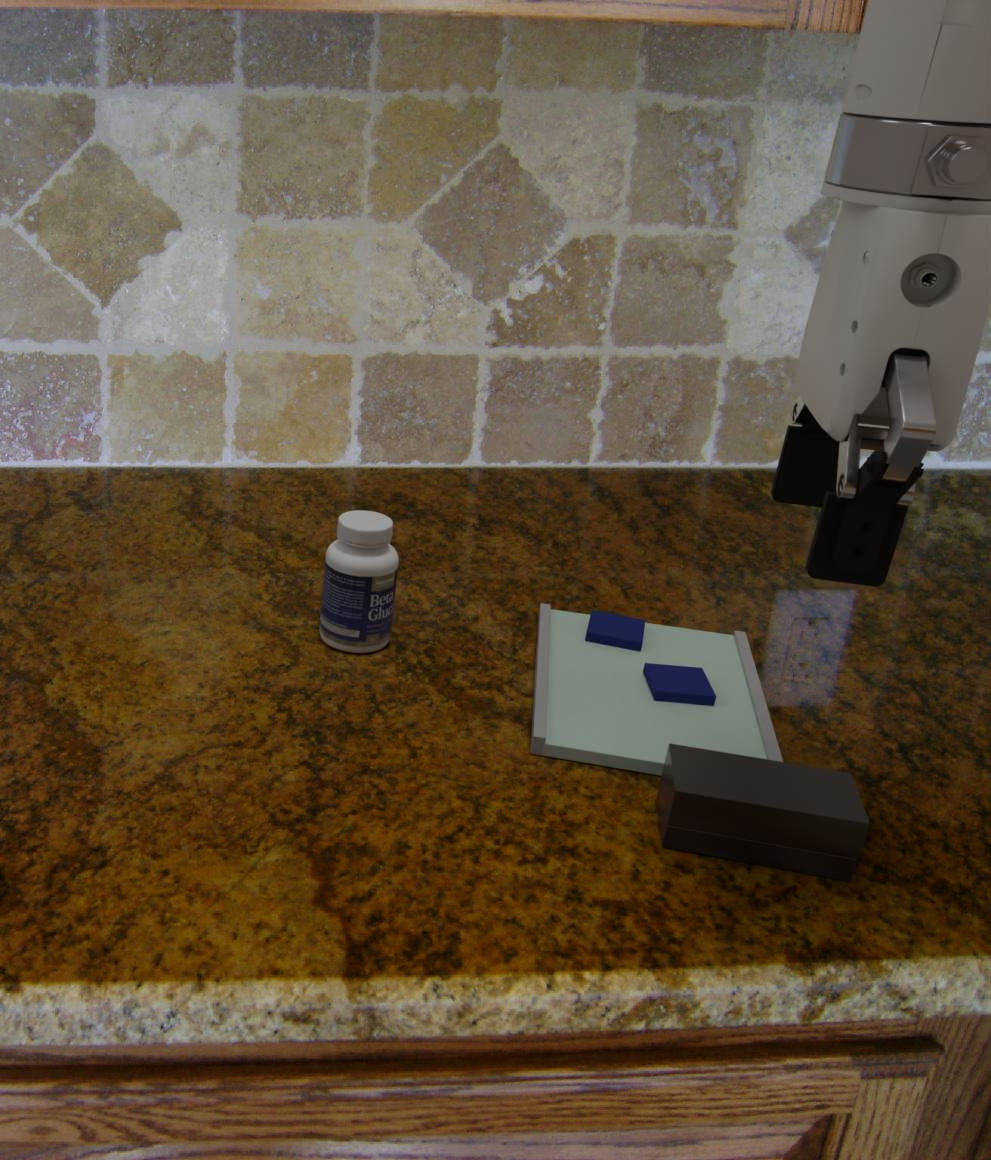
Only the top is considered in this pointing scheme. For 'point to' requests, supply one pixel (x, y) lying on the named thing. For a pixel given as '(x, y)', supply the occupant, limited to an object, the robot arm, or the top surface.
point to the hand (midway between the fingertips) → (821, 538)
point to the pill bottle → (359, 583)
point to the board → (642, 696)
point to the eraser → (761, 812)
